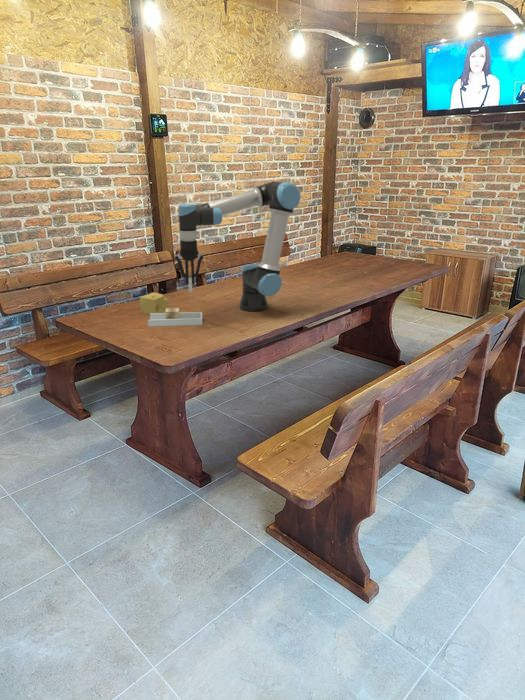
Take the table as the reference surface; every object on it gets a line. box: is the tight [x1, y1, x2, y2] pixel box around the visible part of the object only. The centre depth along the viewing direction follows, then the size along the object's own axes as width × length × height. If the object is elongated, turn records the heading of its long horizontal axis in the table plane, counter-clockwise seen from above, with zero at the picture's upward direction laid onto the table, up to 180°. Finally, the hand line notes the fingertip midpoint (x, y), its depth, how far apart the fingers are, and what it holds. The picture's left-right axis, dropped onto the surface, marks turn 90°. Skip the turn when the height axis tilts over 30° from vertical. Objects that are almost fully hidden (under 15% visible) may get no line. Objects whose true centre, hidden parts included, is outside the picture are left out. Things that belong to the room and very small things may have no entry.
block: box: [165, 307, 180, 319], centre depth 231 cm, size 6×6×6 cm
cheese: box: [139, 292, 170, 315], centre depth 246 cm, size 10×11×10 cm
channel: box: [147, 311, 204, 328], centre depth 232 cm, size 25×11×4 cm, turn 97°
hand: (190, 291), depth 227 cm, fingers closed
